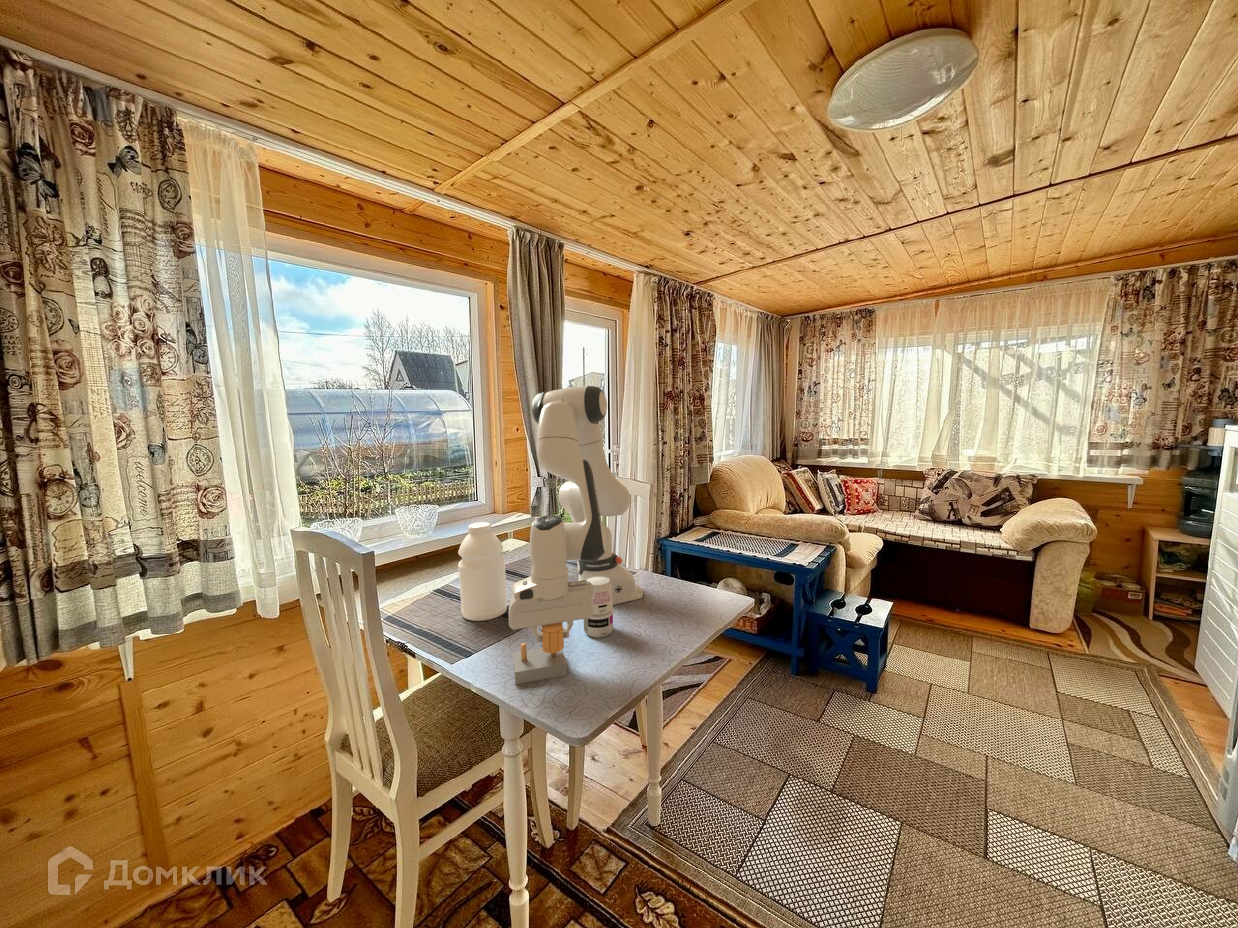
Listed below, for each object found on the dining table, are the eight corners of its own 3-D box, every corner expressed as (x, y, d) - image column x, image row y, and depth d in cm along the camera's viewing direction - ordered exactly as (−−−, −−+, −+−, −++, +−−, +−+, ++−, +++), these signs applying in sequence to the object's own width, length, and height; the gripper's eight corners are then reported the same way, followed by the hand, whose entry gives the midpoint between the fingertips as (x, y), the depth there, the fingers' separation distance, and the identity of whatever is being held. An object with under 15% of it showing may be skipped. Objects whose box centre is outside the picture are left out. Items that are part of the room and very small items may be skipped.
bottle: (495, 623, 137) (489, 531, 133) (452, 620, 139) (445, 530, 136) (514, 603, 150) (510, 519, 147) (476, 601, 153) (470, 518, 150)
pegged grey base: (561, 655, 118) (560, 629, 117) (567, 675, 109) (565, 647, 108) (513, 664, 115) (511, 637, 114) (515, 684, 106) (513, 656, 105)
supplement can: (597, 622, 136) (595, 573, 134) (619, 630, 131) (617, 579, 129) (578, 633, 130) (576, 581, 128) (600, 641, 124) (598, 588, 123)
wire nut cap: (561, 641, 115) (560, 618, 115) (564, 651, 111) (563, 627, 110) (541, 644, 114) (540, 621, 113) (543, 654, 109) (542, 630, 108)
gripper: (589, 574, 116) (591, 626, 118) (506, 585, 111) (509, 639, 112) (595, 583, 110) (597, 638, 112) (507, 595, 105) (510, 652, 106)
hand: (552, 639), depth 112 cm, fingers closed on wire nut cap, 5 cm apart
